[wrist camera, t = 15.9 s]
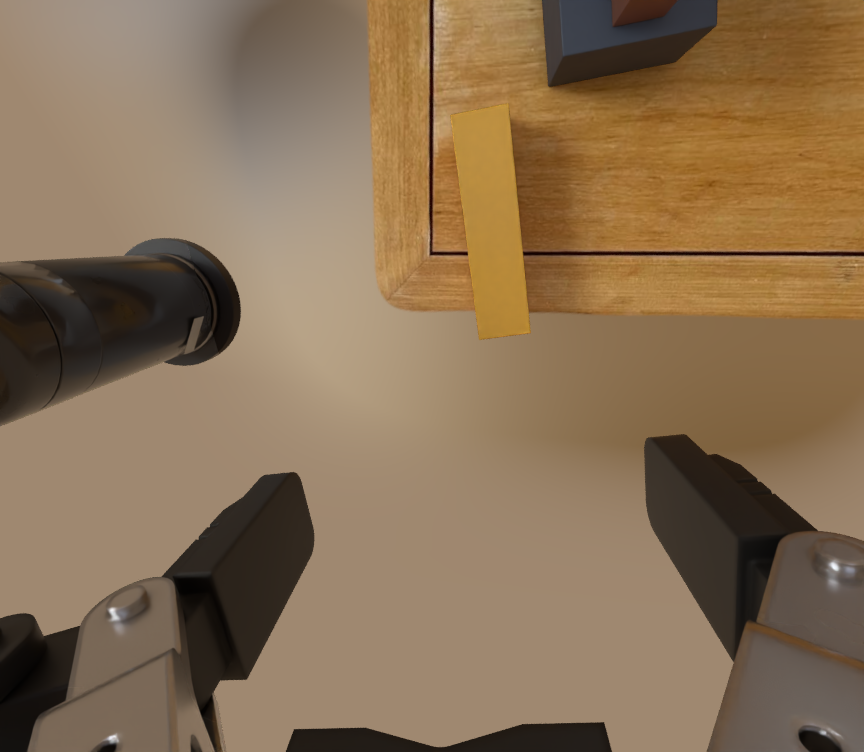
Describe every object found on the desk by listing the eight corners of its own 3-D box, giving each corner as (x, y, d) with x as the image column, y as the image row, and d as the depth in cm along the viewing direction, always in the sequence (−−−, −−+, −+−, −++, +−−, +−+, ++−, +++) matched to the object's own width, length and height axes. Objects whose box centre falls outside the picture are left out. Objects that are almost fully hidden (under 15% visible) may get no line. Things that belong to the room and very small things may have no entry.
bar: (478, 330, 40) (479, 340, 36) (453, 127, 35) (450, 114, 32) (525, 324, 39) (530, 333, 35) (505, 117, 35) (508, 102, 31)
